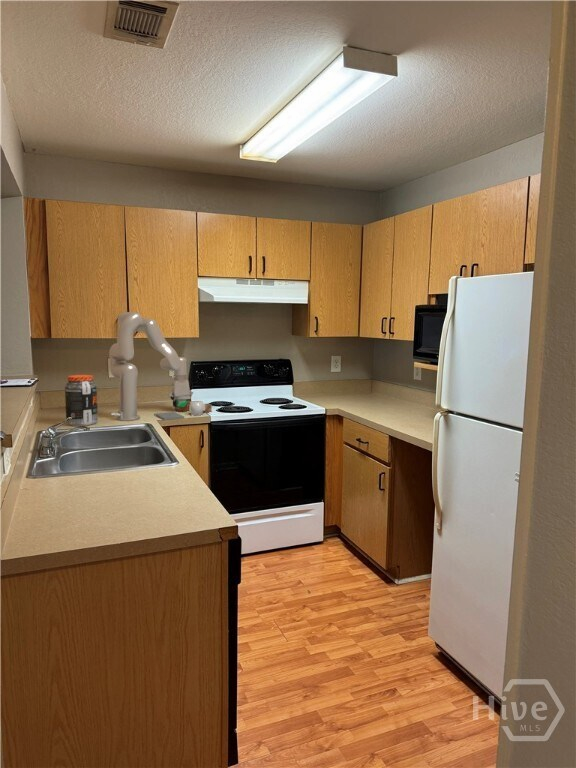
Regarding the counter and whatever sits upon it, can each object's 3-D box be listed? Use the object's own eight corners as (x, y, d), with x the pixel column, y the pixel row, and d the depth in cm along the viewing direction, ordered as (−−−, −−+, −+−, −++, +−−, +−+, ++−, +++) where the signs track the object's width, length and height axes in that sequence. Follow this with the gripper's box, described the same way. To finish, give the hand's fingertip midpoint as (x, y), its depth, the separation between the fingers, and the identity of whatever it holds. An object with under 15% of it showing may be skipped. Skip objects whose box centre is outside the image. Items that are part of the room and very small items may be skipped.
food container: (168, 410, 315) (168, 394, 314) (175, 409, 320) (175, 393, 319) (184, 413, 309) (184, 396, 308) (191, 411, 314) (191, 395, 313)
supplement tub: (100, 425, 272) (98, 376, 269) (68, 427, 264) (66, 378, 261) (94, 419, 286) (93, 373, 283) (64, 422, 278) (62, 374, 275)
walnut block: (205, 413, 309) (205, 405, 308) (199, 412, 312) (199, 404, 312) (211, 412, 313) (211, 404, 312) (206, 411, 316) (206, 403, 315)
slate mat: (163, 420, 288) (163, 418, 288) (154, 415, 301) (154, 413, 301) (184, 418, 294) (184, 416, 294) (173, 413, 307) (173, 411, 307)
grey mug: (193, 416, 299) (193, 403, 298) (189, 414, 305) (188, 401, 304) (207, 415, 304) (207, 402, 303) (202, 413, 310) (202, 400, 308)
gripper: (168, 379, 305) (169, 408, 307) (196, 377, 314) (196, 405, 317) (164, 377, 311) (165, 406, 313) (191, 376, 320) (191, 404, 323)
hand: (180, 406), depth 315 cm, fingers closed on food container, 7 cm apart
